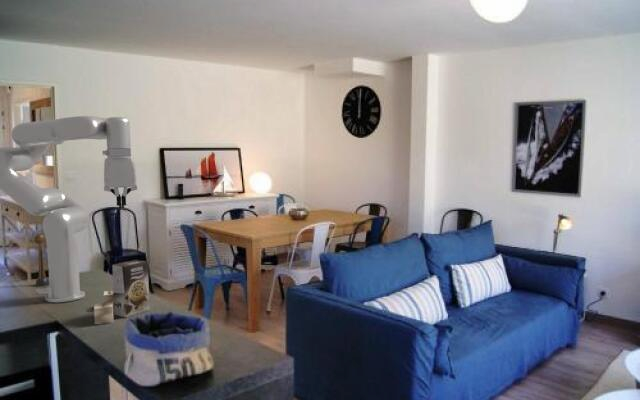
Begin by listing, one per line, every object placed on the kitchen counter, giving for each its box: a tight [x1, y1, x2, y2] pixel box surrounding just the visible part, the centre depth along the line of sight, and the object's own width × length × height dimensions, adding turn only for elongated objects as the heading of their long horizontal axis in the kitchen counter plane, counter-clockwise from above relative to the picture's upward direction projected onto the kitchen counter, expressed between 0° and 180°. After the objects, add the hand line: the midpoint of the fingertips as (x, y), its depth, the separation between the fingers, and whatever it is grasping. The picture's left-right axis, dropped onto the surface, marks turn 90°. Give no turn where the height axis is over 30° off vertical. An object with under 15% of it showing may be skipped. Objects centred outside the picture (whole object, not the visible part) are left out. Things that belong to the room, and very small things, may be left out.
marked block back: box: [103, 290, 114, 310], centre depth 172 cm, size 5×5×5 cm
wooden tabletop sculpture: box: [29, 233, 50, 287], centre depth 202 cm, size 6×5×20 cm
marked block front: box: [93, 302, 114, 325], centre depth 157 cm, size 5×5×5 cm
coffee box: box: [112, 259, 150, 318], centre depth 165 cm, size 9×6×16 cm
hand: (121, 207), depth 178 cm, fingers closed
